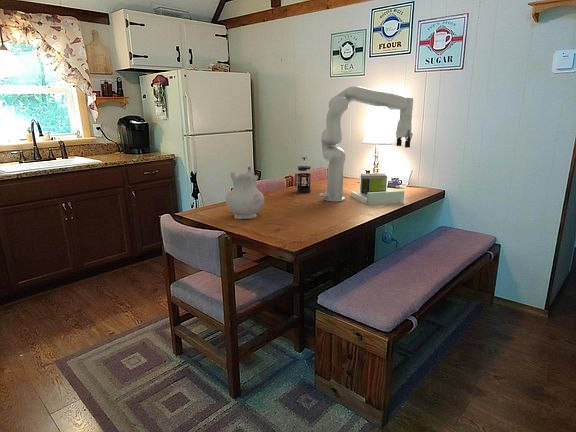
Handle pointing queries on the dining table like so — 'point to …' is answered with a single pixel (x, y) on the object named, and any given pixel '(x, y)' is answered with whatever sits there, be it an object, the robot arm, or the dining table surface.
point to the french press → (303, 188)
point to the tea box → (372, 183)
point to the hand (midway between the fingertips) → (403, 146)
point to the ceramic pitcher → (245, 196)
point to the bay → (380, 197)
